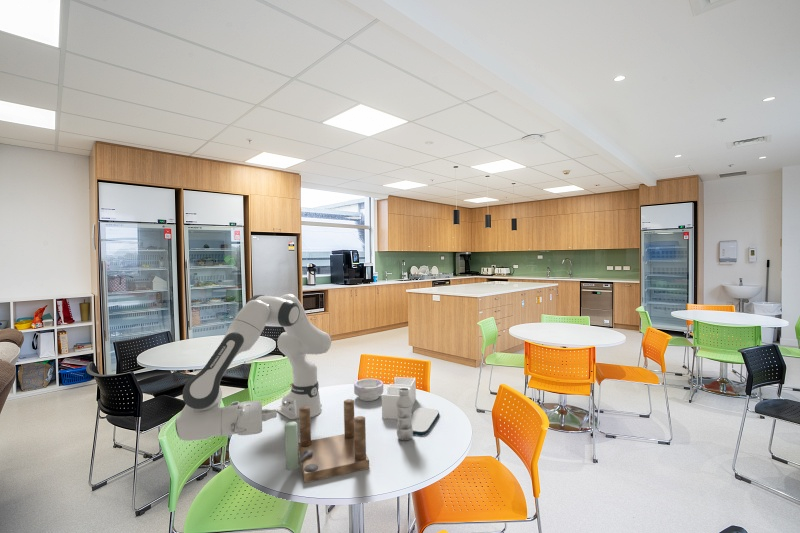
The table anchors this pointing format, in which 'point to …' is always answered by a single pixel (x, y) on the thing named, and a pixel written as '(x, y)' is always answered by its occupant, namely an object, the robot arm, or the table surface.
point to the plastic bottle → (404, 415)
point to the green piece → (293, 447)
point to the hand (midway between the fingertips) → (276, 413)
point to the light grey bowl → (368, 389)
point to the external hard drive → (423, 420)
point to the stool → (333, 447)
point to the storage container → (393, 393)
